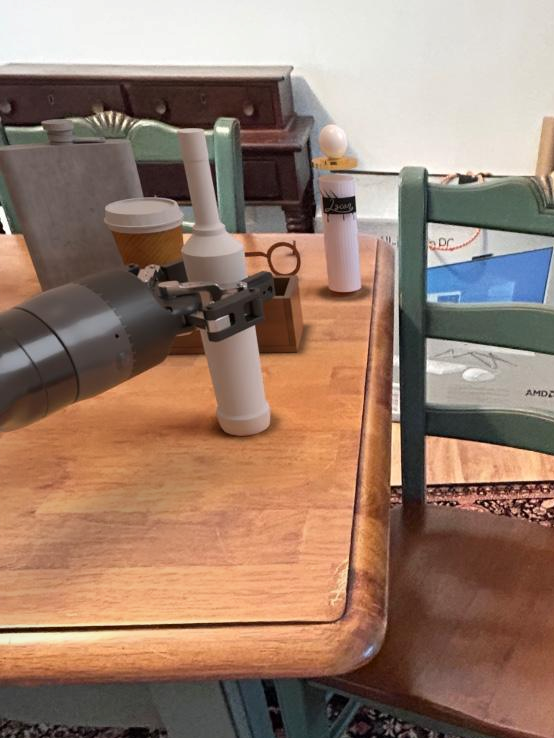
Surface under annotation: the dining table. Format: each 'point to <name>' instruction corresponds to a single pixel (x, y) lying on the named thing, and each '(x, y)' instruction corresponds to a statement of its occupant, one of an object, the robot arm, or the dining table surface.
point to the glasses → (269, 252)
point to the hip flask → (69, 200)
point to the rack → (264, 322)
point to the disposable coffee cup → (146, 230)
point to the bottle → (223, 265)
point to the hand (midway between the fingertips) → (231, 275)
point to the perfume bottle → (338, 211)
